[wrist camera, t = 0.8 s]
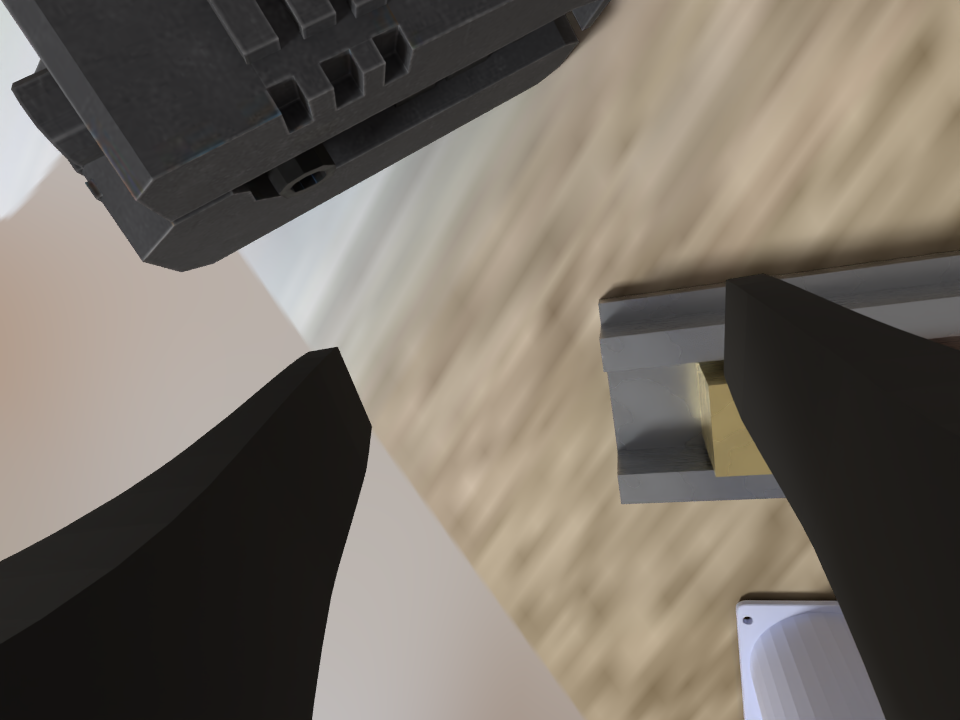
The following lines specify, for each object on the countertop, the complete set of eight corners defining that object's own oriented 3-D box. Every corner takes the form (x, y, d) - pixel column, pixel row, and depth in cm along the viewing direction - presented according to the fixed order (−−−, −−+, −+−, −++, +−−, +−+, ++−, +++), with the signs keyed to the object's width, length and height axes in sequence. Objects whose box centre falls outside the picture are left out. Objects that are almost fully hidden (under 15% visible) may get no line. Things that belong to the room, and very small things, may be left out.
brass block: (795, 429, 26) (825, 471, 22) (702, 435, 27) (715, 476, 23) (792, 345, 24) (823, 375, 21) (695, 355, 26) (708, 385, 22)
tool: (144, 176, 27) (-163, -54, 11) (504, -7, 30) (669, -386, 14) (224, 296, 28) (48, 244, 12) (564, 106, 31) (780, -132, 15)
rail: (989, 467, 25) (1044, 510, 22) (623, 484, 29) (623, 522, 26) (1002, 244, 22) (1067, 255, 19) (599, 299, 27) (596, 316, 24)
